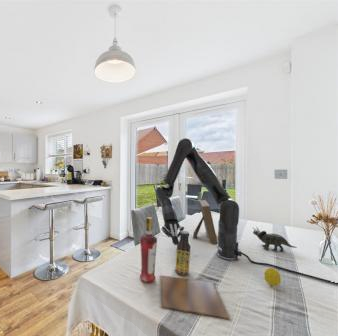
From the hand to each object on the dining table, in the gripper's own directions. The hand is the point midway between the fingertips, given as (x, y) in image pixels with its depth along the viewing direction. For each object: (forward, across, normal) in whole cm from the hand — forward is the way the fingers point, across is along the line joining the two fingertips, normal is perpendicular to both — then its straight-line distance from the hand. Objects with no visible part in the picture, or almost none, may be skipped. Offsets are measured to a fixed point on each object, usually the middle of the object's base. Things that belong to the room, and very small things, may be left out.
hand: (176, 244), depth 102 cm
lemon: (+21, +36, -6) cm, 42 cm away
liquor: (+17, -18, -2) cm, 25 cm away
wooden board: (+24, -3, -10) cm, 26 cm away
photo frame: (-19, +34, +34) cm, 52 cm away
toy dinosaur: (-5, +68, +19) cm, 71 cm away
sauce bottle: (+13, 0, +1) cm, 13 cm away
